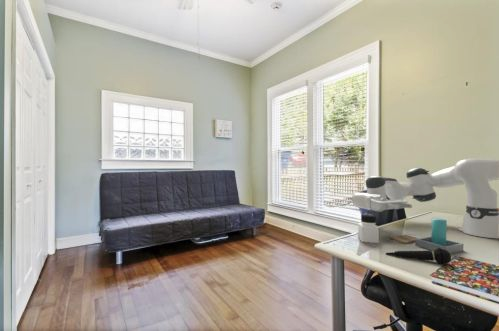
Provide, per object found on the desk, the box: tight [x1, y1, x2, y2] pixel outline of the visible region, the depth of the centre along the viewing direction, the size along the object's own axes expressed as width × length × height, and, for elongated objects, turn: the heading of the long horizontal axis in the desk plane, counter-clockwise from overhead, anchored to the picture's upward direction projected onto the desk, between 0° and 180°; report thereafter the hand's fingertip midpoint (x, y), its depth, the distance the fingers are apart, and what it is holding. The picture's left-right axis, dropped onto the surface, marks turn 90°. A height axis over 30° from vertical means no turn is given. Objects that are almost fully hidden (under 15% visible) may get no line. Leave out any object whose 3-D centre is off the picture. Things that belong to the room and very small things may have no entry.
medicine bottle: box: [357, 213, 380, 244], centre depth 112 cm, size 7×7×12 cm
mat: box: [388, 234, 419, 245], centre depth 113 cm, size 12×8×1 cm, turn 114°
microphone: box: [385, 247, 452, 265], centre depth 89 cm, size 6×6×20 cm
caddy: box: [414, 236, 464, 255], centre depth 102 cm, size 12×12×3 cm
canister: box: [430, 217, 448, 247], centre depth 102 cm, size 5×5×12 cm
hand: (404, 206), depth 115 cm, fingers open, 8 cm apart
